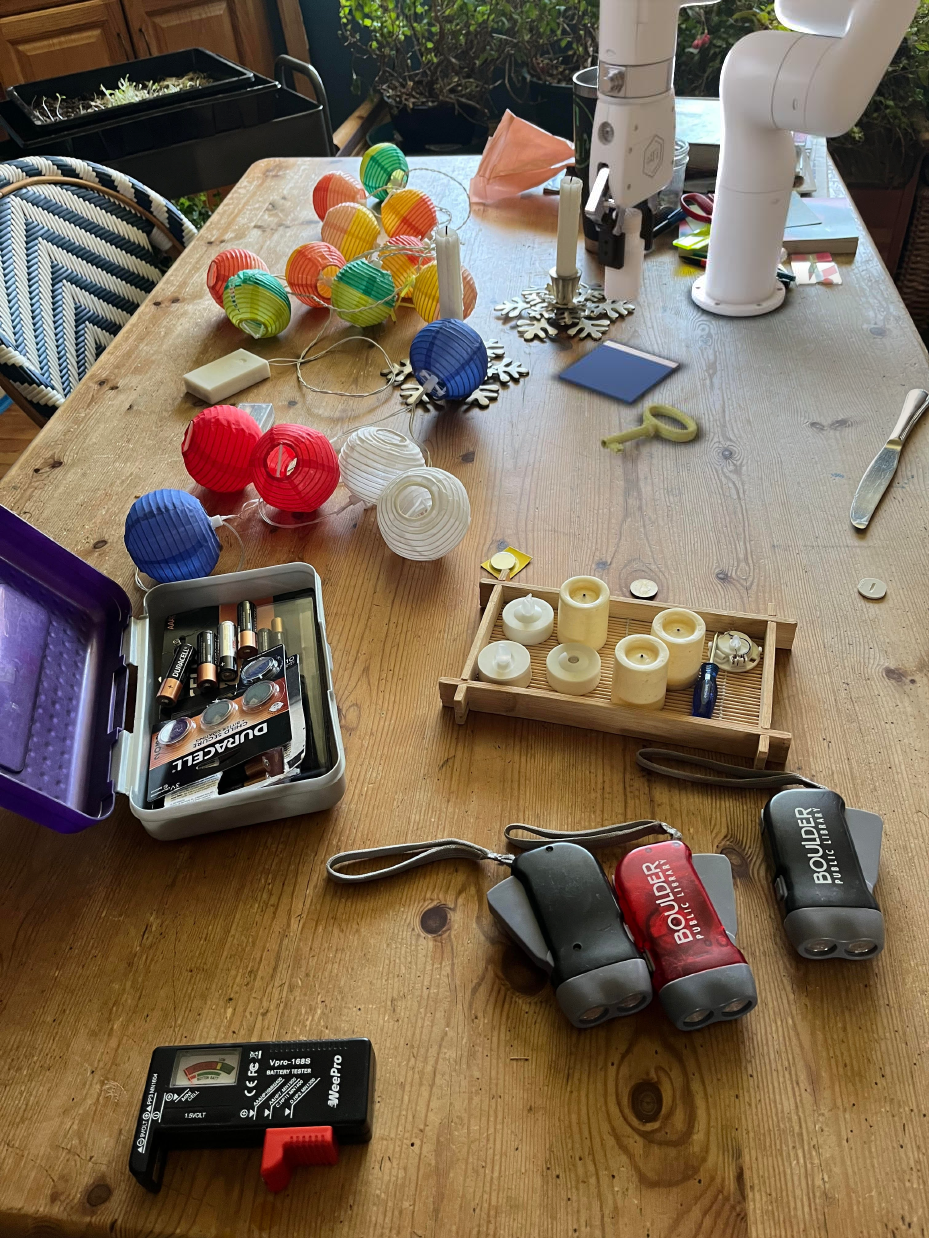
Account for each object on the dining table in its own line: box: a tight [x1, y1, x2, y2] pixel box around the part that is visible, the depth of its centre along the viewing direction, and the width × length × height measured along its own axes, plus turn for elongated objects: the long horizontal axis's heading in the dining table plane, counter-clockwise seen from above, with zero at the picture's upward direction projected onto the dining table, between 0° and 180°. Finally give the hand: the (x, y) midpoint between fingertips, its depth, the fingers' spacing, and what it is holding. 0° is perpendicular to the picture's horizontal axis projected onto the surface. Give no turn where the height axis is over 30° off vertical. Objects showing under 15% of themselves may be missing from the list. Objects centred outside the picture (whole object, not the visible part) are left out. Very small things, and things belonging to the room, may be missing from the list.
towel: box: [557, 339, 681, 405], centre depth 110 cm, size 11×11×1 cm
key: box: [600, 403, 698, 455], centre depth 99 cm, size 7×12×2 cm, turn 139°
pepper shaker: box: [603, 207, 645, 302], centre depth 100 cm, size 4×4×10 cm
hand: (625, 255), depth 100 cm, fingers closed on pepper shaker, 4 cm apart
